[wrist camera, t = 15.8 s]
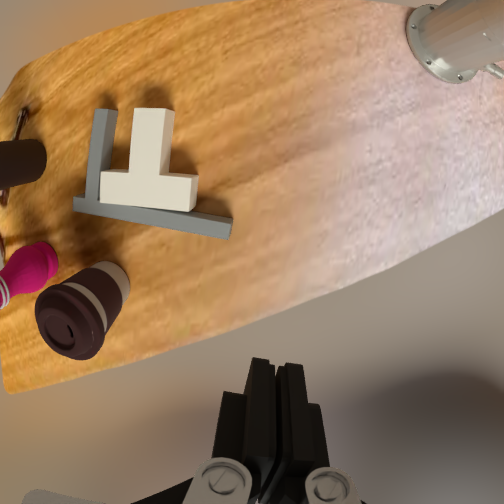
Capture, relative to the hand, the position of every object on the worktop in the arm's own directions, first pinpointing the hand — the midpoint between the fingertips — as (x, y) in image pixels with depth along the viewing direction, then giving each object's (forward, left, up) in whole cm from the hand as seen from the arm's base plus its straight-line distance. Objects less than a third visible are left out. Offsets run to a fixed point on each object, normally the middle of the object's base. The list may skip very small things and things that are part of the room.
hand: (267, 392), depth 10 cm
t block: (+15, -4, -32) cm, 36 cm away
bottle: (+37, -2, -32) cm, 49 cm away
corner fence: (+15, -3, -32) cm, 36 cm away
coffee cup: (+21, +15, -32) cm, 41 cm away
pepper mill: (+34, +14, -32) cm, 49 cm away
